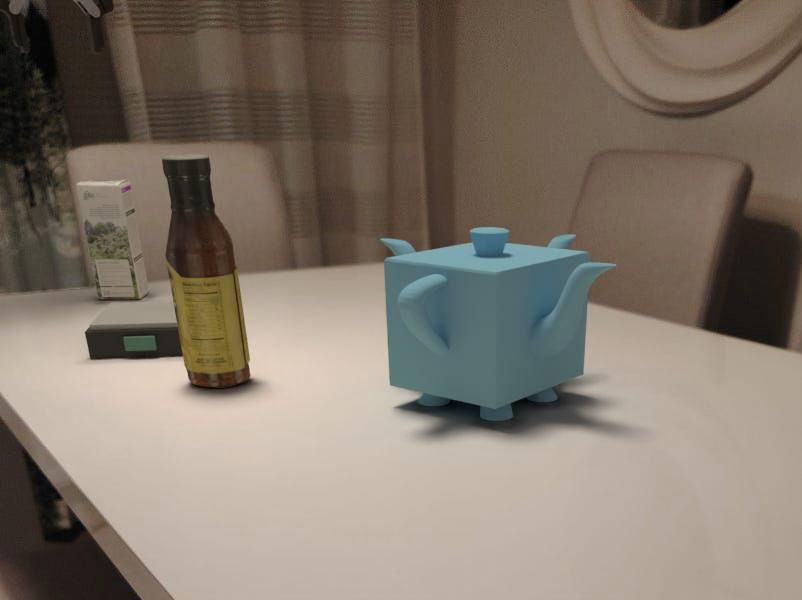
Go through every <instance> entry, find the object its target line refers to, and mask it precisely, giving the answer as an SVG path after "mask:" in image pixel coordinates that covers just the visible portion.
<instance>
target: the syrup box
mask: <svg viewBox="0 0 802 600" xmlns="http://www.w3.org/2000/svg"><path fill="white" fill-rule="evenodd" d="M75 185H76V187H75V188H76V194H77V198H78V203H79V209H80V213H81V217H82V222H83V223H82V224H83V228H84V233H85V238H86V243H87V249H88V253H89V258H90V264H91V269H92V274H93V278H94V284H95V289H96V293H97V298H98V300H141V299H142V298H144V297H146V295H147V294H148V293H150V288H149V283H148V278H147V274H146V273H147V272H146V267H145V261H144V257H143V256H144V255H143V251H142V244H141V238H140V232H139V226H138V220H137V214H136V207H135V202H134V201H135V200H134V194H133V190H132V184H131V181H130V180H129V179H84V180H80V181H79V182H77V183H75Z"/></svg>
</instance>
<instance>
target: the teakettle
mask: <svg viewBox="0 0 802 600" xmlns="http://www.w3.org/2000/svg"><path fill="white" fill-rule="evenodd" d="M469 235H470V239H471V242H467V243H461V244H456V245H455V244H454V245H449V246H444V247H437V248H434V249H428V250H427V249H426V250H421V251H416V250H415V248H414V247H413V246H412V244H411V243H409V242H408V241H407V240H404V239H397V238H387V237H386V238H384V237H383V238H380V239H379V241H380V242H381V243H383V244H384V245H385V246H386V247H387V248H388V249H389V250H391V252H392V253H393V255H394V256H390V257H389V256H388V257H385V259H384V260H383V269H384V270H383V271H384V294H385V313H386V314H385V315H386V336H387V337H386V338H387V357H388V374H389V375H388V379H389V381H388V382H389V386H391V387H395V388H400V389H404V390H407V391H408V390H409V391H413V392H418V393H422V394H421V396H420V397H419V399H418V401H417V403H418V404H419V405H421V406H426V407H442V406H446V405H448V404H450V402H451V400H453V401H457V402H463V403H467V404H471V405H475V406H480V407H479V408H480V409H479V417H480V419H482V420H486V421H489V422H490V421H491V422H503V421H508V420H511V419H513V417H514V414H513V408H512V403H514V402H517V401H519V400H522V399H524V398H526V400H528V401H531V402H534V403H551V402H555V401H557V400H558V395H557V394H556V392H555V391H554V389H553V387H556V386H558V385H560V384H561V385H562V384H563V383H565V382H568V381H571V380H573V379H576V378H578V377H580V376H581V377H582V376H583V375H584V372H585V371H584V370H585V353H586V335H587V321H588V320H587V319H588V303H589V302H588V301H589V290H590V288H591V286H592V285H593V283H594V281H595V280H596V279H597V278H598V277H599V276H600V275H602V274H603V273H605V272H607V271H609V270H611V269H614V268H616V267H617V266H618V265H617V264H615V263H610V262H596V261H595V262H593V261H592V262H591V253H590V252H589V251H584V250H576V249H569V248H570V246H571V244H572V243H573V242H574V241H575V239H576V237H577V235H576V234H569V233H568V234H561V235H558V236H555V237H553V238H552V239H551V241H550V242H549V244H548V245H547V246H538V245H528V244H519V243H512V242H511V243H509V242H507V241H508V238H509V235H510V230H509V229H508V228H504V227H497V226H483V227H474V228H472V229H470V230H469Z"/></svg>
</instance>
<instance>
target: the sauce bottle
mask: <svg viewBox="0 0 802 600" xmlns="http://www.w3.org/2000/svg"><path fill="white" fill-rule="evenodd" d="M161 163H162V171H163V174H164V177H165V178H166V183H167V187H168V193H169V195H168V196H169V199H170V205H169V206H170V210H171V214H170V221H169V228H168V235H167V241H166V249H165V254H164V255H165V256H164V257H165V262H166V268H167V273H168V279H169V284H170V289H171V290H170V291H171V297H172V301H173V302H174V308H175V314H176V320H177V324H178V331H179V336H180V342H181V348H182V353H183V355H182V359H183V364H184V367H185V370H186V372H187V378H188V381H190V383H191V384H192V385H193V386H198V387H201V388H217V389H218V388H219V389H226V388H231V387H234V386H237V385H241V384H244V383H247V381H249V380H250V377H251V370H250V365H249V363H250V361H251V358H250V349H249V341H248V334H247V328H246V321H245V313H244V306H243V301H242V300H243V298H242V293H241V285H240V278H239V272H238V271H239V269H238V266H237V265H236V259H235V258H236V257H235V252H234V244H233V239H232V237H231V234H230V232H229V231H228V230H227V228H226V227H225V225H224V223H223V222H222V221H221V220H220V218H219V216H218V215H217V214H216V211H215V210H216V204H215V202H214V197H213V190H212V182H211V174H212V168H211V167H212V166H211V160H210V157H209V155H206V154H198V153H197V154H194V153H192V154H188V153H184V154H171V155H170V154H169V155H164V156H163V157H162V158H161Z"/></svg>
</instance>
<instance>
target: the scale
mask: <svg viewBox="0 0 802 600" xmlns="http://www.w3.org/2000/svg"><path fill="white" fill-rule="evenodd" d="M84 335H85V341H86V344H87V345H86V346H87V350H88V354H89V358H90V359H117V358H118V359H119V358H120V359H123V358H146V357H147V358H149V357H179V356H182V357H183V353H182V348H181V342H180V336H179V331H178V324H177V320H176V314H175V308H174V302H173V300H163V301H160V300H158V301H125V302H124V301H123V302H120V301H119V302H110V303H109V304H108V305H107V306H106V307H105V308H104V309H103V310H102V311H101V312H100V313H99V315H97V317H96V318H94V320H93V321H92V322H91V323H89V327H88V328H87V329H86V330H84Z"/></svg>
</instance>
